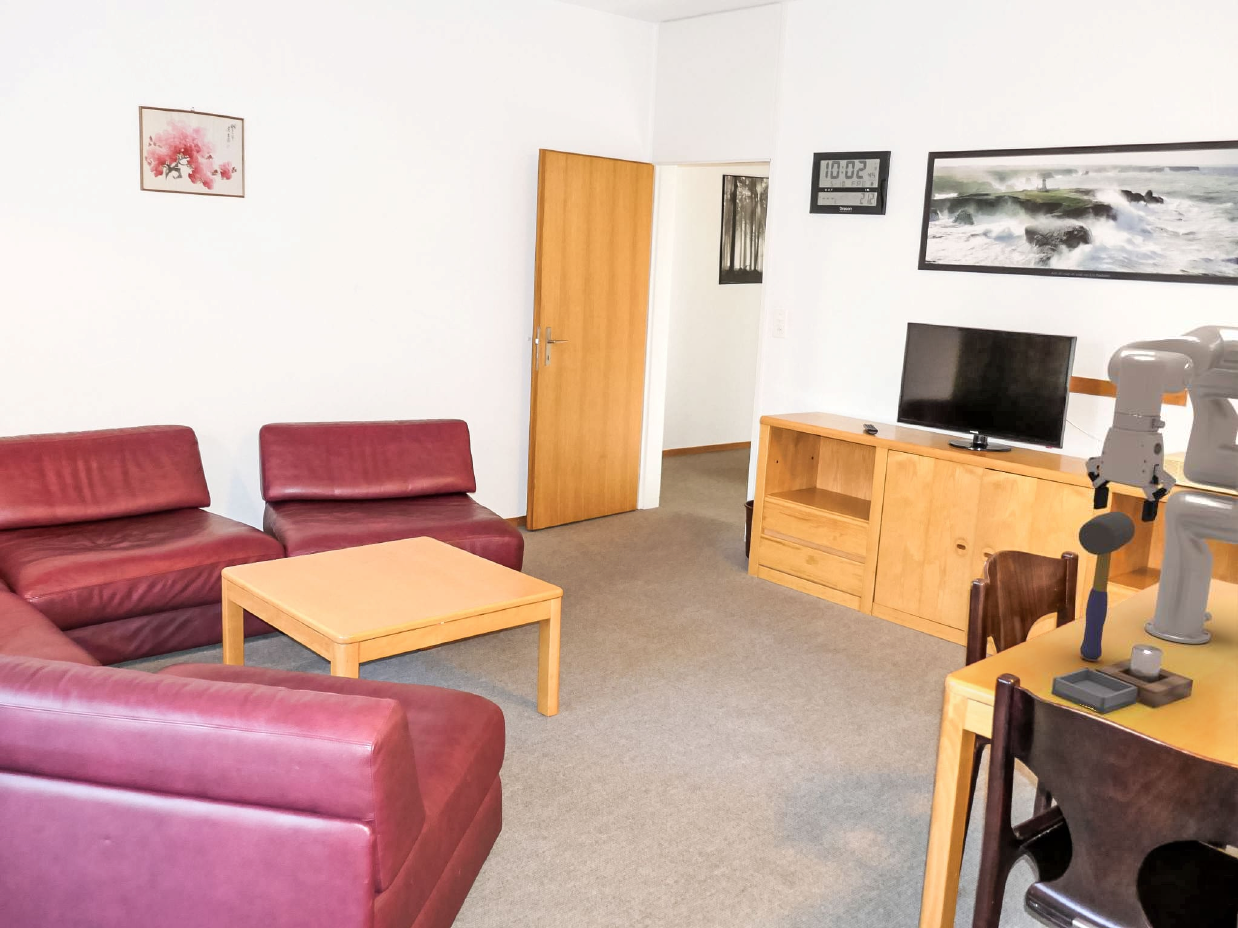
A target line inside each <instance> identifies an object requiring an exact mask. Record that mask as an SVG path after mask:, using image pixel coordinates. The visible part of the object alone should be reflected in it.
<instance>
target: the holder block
mask: <svg viewBox="0 0 1238 928" xmlns="http://www.w3.org/2000/svg"><path fill="white" fill-rule="evenodd" d="M1130 662H1131V657H1130V658H1127V659H1124V660H1121V661H1117V662H1115V663H1114V662H1113V663H1111V664H1110V663H1109V664H1108V665H1104V666H1100V667H1098V668H1095V669H1094V671H1097V672H1099V673H1102V674H1104V675H1107V676H1110V677H1112V678H1115V679H1117V680H1120V681H1123V682H1125V683H1128V684H1130V685H1133V686H1136V687H1138V691H1137V698H1136V702H1137V703H1140V704H1143V705H1146V706H1148V707H1150V708H1152V709H1155V708H1158V707H1161V706H1164V705H1166V704H1170V703H1173V702H1175V701H1178V700H1180V699H1184V698H1187V697H1190V696H1191V695H1192V690H1193V681H1194V679H1191V678H1190V677H1187V676H1184V675H1181V674H1178V673H1176V672H1172V671H1170V670H1168V669H1164V668H1161V667H1160V672H1159V679H1158V681H1157V682H1154V683H1151V684H1150V683H1147V682H1144V681H1142V680H1139V679H1136V678H1134V677H1131V676H1129V669H1130Z"/></svg>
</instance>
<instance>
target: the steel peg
mask: <svg viewBox="0 0 1238 928" xmlns="http://www.w3.org/2000/svg"><path fill="white" fill-rule="evenodd" d="M1130 658H1131V662H1130V669H1129V676H1131V677H1134V678H1136V679H1139V680H1142V681H1144V682H1147V683H1150V684H1151V683H1154V682H1157V681H1158V679H1159V672H1160V668H1161V665H1162V659H1163V650H1162V649H1161V648H1158V647H1157V646H1154V645H1149V644H1143V643H1142V644H1137V643H1136V644H1133V645H1132V647H1131V657H1130Z"/></svg>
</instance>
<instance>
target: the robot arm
mask: <svg viewBox="0 0 1238 928" xmlns="http://www.w3.org/2000/svg"><path fill="white" fill-rule="evenodd" d="M1106 370H1107V377H1108V380H1109V382H1110V383H1111V384H1112V385H1113V386H1115V387H1117V388H1116V393H1115V403H1114V411H1113V417H1112V423H1111V424H1112V426H1110V427H1108V431H1107V433H1106V435H1105V439H1104V440H1103V441H1104V442H1103V446H1102V450H1101V453H1100V456H1098V457H1095V458H1093V459H1090V460H1087V461H1085V463H1084V464H1085V468H1086V471H1087V476H1088V478H1089V480H1090V481H1091V483H1092V484H1091V485H1092V487H1093V488H1094V492H1093V494H1094V495H1093V510H1101V509H1103V510H1104V509H1107V508H1108V503H1109V493H1110V488H1109V486H1108V485H1109V484H1110V483H1115V484H1120V485H1124V486H1129V487H1132V488H1138V489H1142V492H1143V493H1144V495H1145V497H1146V498H1147V499H1144V500H1143V505H1142V512H1141V521H1142V522H1143V523H1148V522H1154V521H1155V520H1156V517H1157V516H1158V510H1159V505H1160V504H1159V503H1160V502H1159V501H1161V500H1163V498H1164V497H1166V496H1167V495H1169V493H1171V490H1172V489H1173V488H1174V486H1175V485H1176V483H1177V479H1176V478H1175V477H1173V476H1172V475H1171V474H1170V473H1169V472H1167V471H1166V470H1165V469H1164V463H1165V462H1164V459H1165V447H1164V435H1163V433H1162V432H1159V431H1160V429H1164V428H1165V427H1166V421H1165V420H1162V419H1161V418H1162V416H1161V412H1162V404H1163V396H1164V394H1171V395H1172V394H1173V395H1174V394H1180V393H1182V392H1184V391H1186V390H1187V393H1188V396H1189V399H1190V402H1191V406H1192V411H1193V414H1192V415H1193V417H1192V418H1193V420H1192V424H1191V429H1190V432H1189V433H1190V434H1189V437H1188V438H1189V439H1188V442H1187V446H1186V447H1187V448H1186V452H1185V456H1184V461H1183V469H1182V470H1183V473H1182V474H1183V476H1184V477H1185V479H1186V480H1188V482H1191V483H1193V484H1197V485H1201V486H1205V487H1206V486H1207V487H1211V488H1218V489H1223V490H1228V491H1234V492H1236V493H1237V494H1238V444H1237V437H1238V412H1237V410H1236V408H1235V407H1234V405H1233V404H1232V402H1231V401H1230V400H1229V399H1231V400H1238V326H1228V325H1226V326H1225V325H1211V324H1210V325H1208V324H1207V325H1203V326H1200V327H1197V328H1194V329H1192V330H1190V331H1188V332H1186V333H1184V334H1181V335H1178V336H1169V337H1168V336H1167V337H1160V338H1153V339H1152V338H1151V339H1144V340H1143V339H1142V340H1137V341H1133V342H1130V343H1127V344H1124V345H1123V346H1121V347H1119V348H1118V349H1116V350H1115V352H1113V354H1112V355H1111V356H1110V359H1109V362H1108V364H1107V369H1106ZM1097 466H1099V467H1097ZM1162 482H1163V483H1162ZM1161 484H1162V485H1161ZM1159 486H1160V487H1159ZM1164 524H1165V525H1164V527H1165V529H1164V531H1165V533H1164V534H1165V535H1164V538H1165V539H1164V547H1163V555H1162V560H1161V561H1162V562H1161V570H1160V575H1159V580H1158V581H1159V582H1158V588H1157V597H1156V600H1155V601H1156V602H1155V609H1154V617H1153V619H1149V620H1147V621H1146V622H1145V624H1144V629H1145V630H1146V632H1148V633H1149V634H1150V635H1152V636H1154V637H1156V638H1159V639H1163V640H1167V641H1170V642H1173V643H1174V642H1175V643H1180V644H1189V645H1190V644H1192V645H1199V644H1206V643H1208V642H1210V640H1211V633H1210V632H1209V631H1208V630H1207V629H1205V628H1204V625H1205V623H1206V622H1210V621H1212V618H1213V615H1212V614H1211V613H1210V612H1208V611H1207V608H1208V607H1207V606H1208V600H1209V599H1208V598H1209V593H1210V588H1211V587H1210V586H1211V582H1212V575H1213V568H1214V555H1213V552H1212V550H1211V547H1210V546H1209V544H1208V542H1207V541H1206V540H1212V541H1216V542H1221V543H1225V544H1232V545H1236V546H1237V545H1238V497H1233V496H1228V495H1223V494H1218V493H1212V492H1208V491H1202V490H1194V489H1181V490H1177V491H1174V492H1173V493H1171V494H1170V496H1169V497H1168V498H1167V499H1166V502H1165V507H1164Z"/></svg>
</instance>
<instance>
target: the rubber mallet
mask: <svg viewBox="0 0 1238 928" xmlns="http://www.w3.org/2000/svg"><path fill="white" fill-rule="evenodd" d="M1135 528H1136V527H1135V524H1134V521H1133V520H1132V518H1130V516H1128V515H1127V514H1125V512H1121V511H1109V512H1105V513H1101V514H1098V515H1096V516H1094V517H1093V518H1091V519H1090V520H1088V521H1087V522H1085V523H1084V524H1083V525H1082V526H1081V527H1080V529H1079V532H1078V541H1079V544H1080V546H1081V547H1082V548H1083V550H1085V551H1086V552H1087V553H1089V554H1091V555H1094V556H1095V555H1096V562H1095V570H1094V576H1093V582H1092V588H1091V589H1090V591H1089V594H1088V597H1087V602H1086V607H1085V627H1084V633H1083V634H1084V635H1083V639H1082V643H1081V646H1080V647H1079V648H1080V649H1079V653H1080V655H1081V657H1082V659H1084V660H1086V661H1089V662H1097V661H1099V659H1100V657H1102V654H1103V650H1102V648H1103V647H1102V641H1103V640H1102V639H1103V631H1104V626H1105V622H1106V620H1107V619H1106V618H1107V614H1108V605H1109V604H1108V600H1109V598H1108V584H1109V583H1108V582H1109V575H1110V566H1111V560H1112V559H1111V558H1112V553H1113V552H1116V551H1118V550H1120V549H1121V548H1122V547H1124V546H1125V545H1127V544H1128V543H1129V542H1131V540H1132V539H1133V538H1134V535H1135V533H1136V532H1135V531H1136V529H1135Z"/></svg>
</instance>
